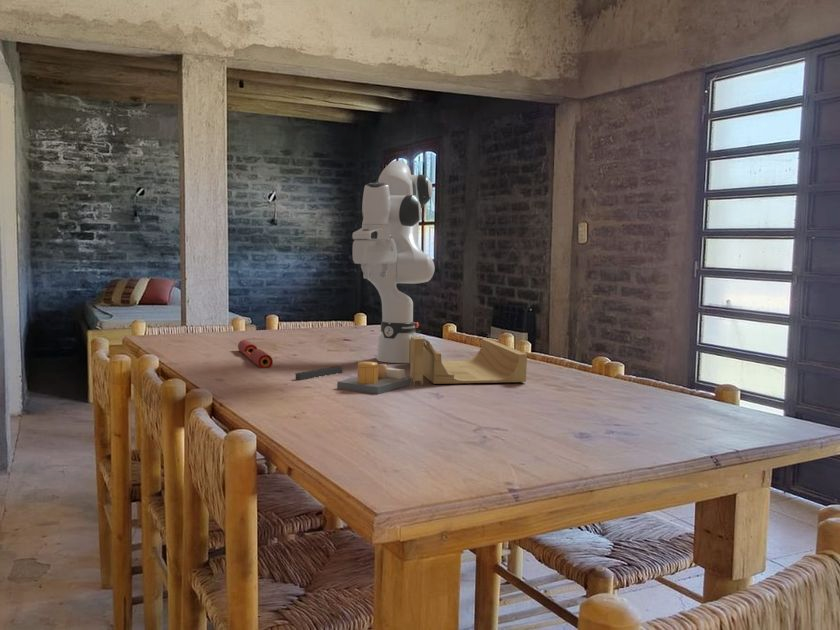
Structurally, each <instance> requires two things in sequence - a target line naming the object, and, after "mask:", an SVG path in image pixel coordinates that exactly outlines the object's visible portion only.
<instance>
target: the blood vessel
mask: <svg viewBox="0 0 840 630" xmlns="http://www.w3.org/2000/svg"><path fill="white" fill-rule="evenodd" d="M237 349H238V351H239V352H241V354H243V355H244V356H245V357H246V358H248V359H249V360H250V361H252V363H254V364H255V365H256V366H258V367H259V368H260V369H270V368H271V367H272V366H273V363H274V361H273V357H272V356H271V355H269V354H268V353H267V352H265V351H263V349H260V348H258V347H257V345H255V344H254V343H252V342H250V341H249V340H248V339H242V340H240V341H239V342H238V344H237Z"/></svg>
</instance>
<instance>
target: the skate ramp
mask: <svg viewBox="0 0 840 630" xmlns="http://www.w3.org/2000/svg"><path fill="white" fill-rule="evenodd" d="M412 332H413V333H410V334H412V336H411V339H409V363H408V364H409V365H410V366H409V368H410V369H409V370H410V371H409V378H411V380H413V386H414V385H416V384H415V382H417V383H419V385H421V386H422V385H424V377H425V378H426V379H427V380H428V381H430V382H431V383H432V384H434V385H435V384H436V385H437V384H439V385H441V384H444V385H445V384H475V383H476V384H481V383H482V384H484V383H485V384H487V383H488V384H489V383H490V384H493V383H496V384H497V383H526V382H527V364H528V363H527V362H528V353H525V350H528V348H527V347H525V346H522V345H521V346H520V347H518V349H517V348H513V347H514V345H513V344H514V342H511V341H510V340H508V342H509V343H512V344H511V345H512V346H511V345H509V346H508V345H507V344H506V339H504V338H503V343H502V342H501V337H499V336H497V335H495V337H493V339H492V336H493V334H492V333H490V334H488V335H487V337H488V338H481V345H480V349H479V351H478V352H477V354H476V355H475V356H474V357H472V358H470V359H467V360H442V353H441V352H440V351H438V350H436V349H434V347H433V345H432V344H431V342H430V341H429V340H428V339H426V338H425V337H422V336H421V331H420V330H418V331H412ZM414 332H415V333H414ZM413 335H414V336H415V335H418V336H419V337H416V336H415V337H413ZM496 338H497V339H496ZM498 338H499V339H498ZM516 345H517V346H519V344H517V343H516Z"/></svg>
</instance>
